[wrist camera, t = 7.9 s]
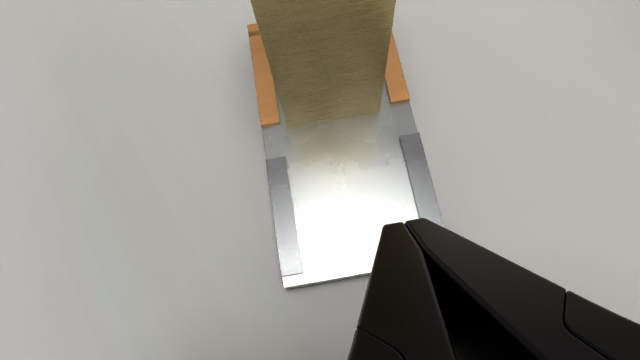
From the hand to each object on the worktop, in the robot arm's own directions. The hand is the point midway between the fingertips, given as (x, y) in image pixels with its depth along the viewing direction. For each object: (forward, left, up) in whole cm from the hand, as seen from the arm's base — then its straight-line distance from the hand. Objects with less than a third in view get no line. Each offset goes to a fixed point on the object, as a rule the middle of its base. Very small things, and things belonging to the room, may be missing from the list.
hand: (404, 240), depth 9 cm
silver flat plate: (+9, 0, -14) cm, 16 cm away
